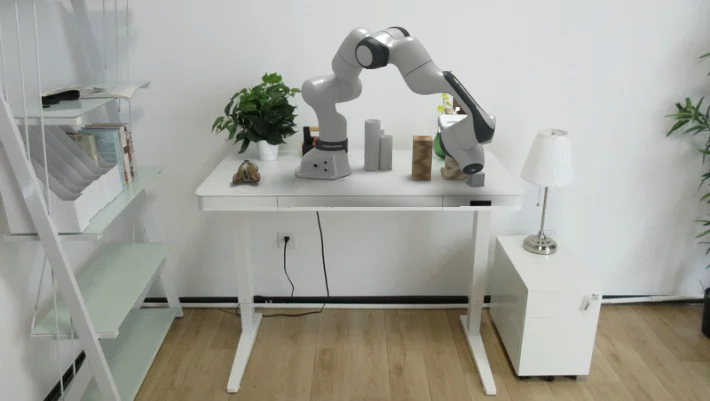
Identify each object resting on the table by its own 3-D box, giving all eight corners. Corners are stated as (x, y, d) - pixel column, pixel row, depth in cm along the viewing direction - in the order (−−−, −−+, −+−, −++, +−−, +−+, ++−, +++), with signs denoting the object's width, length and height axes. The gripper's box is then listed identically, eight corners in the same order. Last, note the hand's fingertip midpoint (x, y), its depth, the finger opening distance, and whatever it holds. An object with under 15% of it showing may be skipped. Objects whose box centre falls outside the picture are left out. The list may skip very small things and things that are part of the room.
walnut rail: (459, 117, 198) (460, 106, 196) (452, 107, 217) (453, 96, 215) (471, 117, 198) (472, 106, 196) (462, 107, 217) (463, 96, 215)
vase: (365, 171, 224) (365, 123, 217) (363, 165, 231) (363, 119, 223) (392, 170, 225) (394, 122, 218) (389, 164, 232) (390, 118, 225)
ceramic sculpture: (262, 153, 218) (258, 167, 204) (263, 173, 221) (260, 188, 208) (234, 154, 217) (229, 168, 204) (237, 174, 221) (231, 189, 207)
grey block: (471, 186, 208) (472, 174, 206) (466, 182, 212) (467, 170, 210) (483, 185, 209) (485, 173, 207) (478, 181, 213) (479, 169, 211)
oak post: (412, 180, 214) (414, 140, 208) (411, 174, 221) (413, 135, 215) (430, 180, 214) (433, 140, 208) (429, 174, 221) (431, 135, 215)
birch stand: (443, 179, 215) (447, 113, 206) (440, 171, 225) (444, 107, 215) (471, 179, 215) (477, 113, 205) (467, 171, 224) (472, 108, 215)
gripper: (437, 141, 194) (435, 114, 203) (495, 142, 194) (490, 115, 202) (439, 129, 189) (436, 101, 198) (499, 129, 189) (494, 102, 197)
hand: (464, 108), depth 200 cm, fingers closed on walnut rail, 4 cm apart
